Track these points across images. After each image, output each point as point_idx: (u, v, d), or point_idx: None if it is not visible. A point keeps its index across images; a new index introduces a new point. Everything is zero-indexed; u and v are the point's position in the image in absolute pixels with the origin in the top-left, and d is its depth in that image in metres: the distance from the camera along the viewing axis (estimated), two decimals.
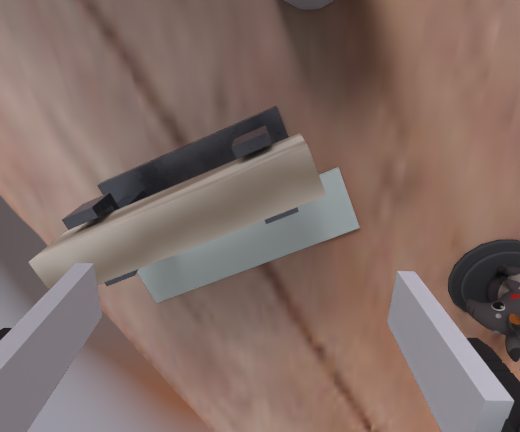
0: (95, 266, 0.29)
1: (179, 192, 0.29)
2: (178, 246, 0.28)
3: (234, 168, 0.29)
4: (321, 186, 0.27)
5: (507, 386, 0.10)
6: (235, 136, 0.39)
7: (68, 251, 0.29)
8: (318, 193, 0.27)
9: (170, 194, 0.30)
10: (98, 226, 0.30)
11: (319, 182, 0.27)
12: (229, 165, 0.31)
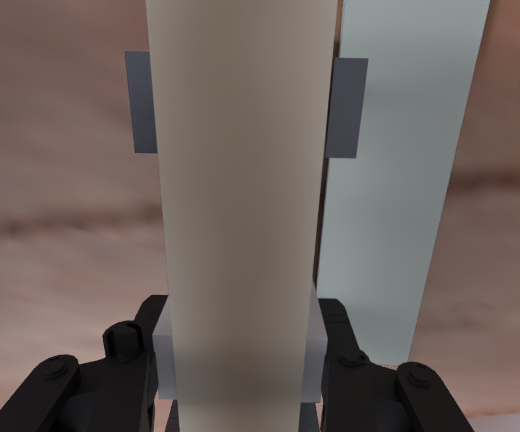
0: None
1: None
2: (285, 385, 0.11)
3: None
4: None
5: (340, 332, 0.12)
6: None
7: None
8: None
9: None
10: None
11: None
12: None
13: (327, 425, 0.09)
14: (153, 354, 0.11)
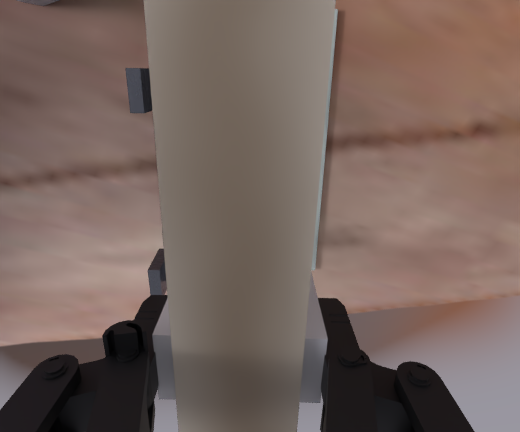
0: None
1: None
2: (283, 385, 0.11)
3: None
4: None
5: (340, 332, 0.12)
6: None
7: None
8: None
9: None
10: None
11: None
12: None
13: (327, 425, 0.09)
14: (153, 354, 0.11)
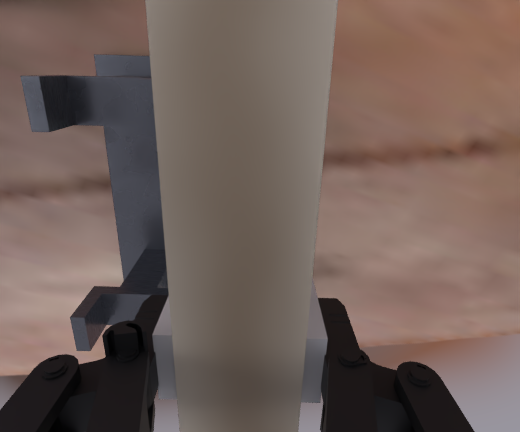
0: None
1: None
2: (285, 386, 0.11)
3: None
4: None
5: (340, 332, 0.12)
6: None
7: None
8: None
9: None
10: None
11: None
12: None
13: (327, 425, 0.09)
14: (153, 354, 0.11)
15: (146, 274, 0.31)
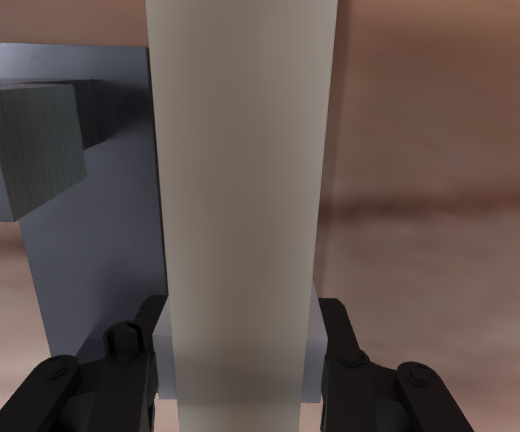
0: None
1: None
2: (285, 385, 0.11)
3: None
4: None
5: (340, 332, 0.12)
6: None
7: None
8: None
9: None
10: None
11: None
12: None
13: (327, 425, 0.09)
14: (153, 354, 0.11)
15: None
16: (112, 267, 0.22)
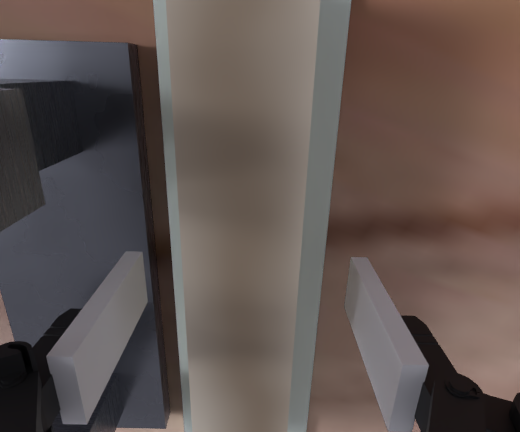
0: None
1: None
2: (279, 339, 0.13)
3: None
4: None
5: (431, 355, 0.12)
6: None
7: None
8: None
9: None
10: None
11: None
12: None
13: None
14: (49, 377, 0.10)
15: None
16: None
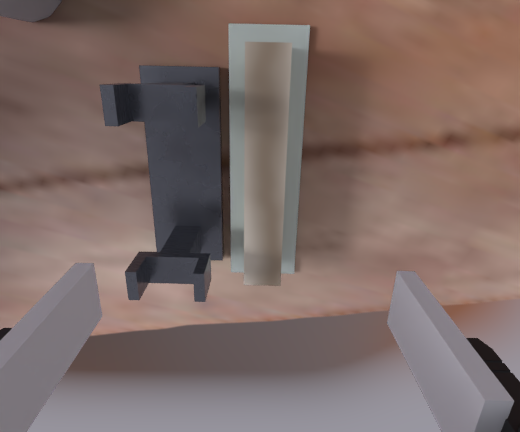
0: (267, 246, 0.38)
1: None
2: (279, 181, 0.35)
3: None
4: (282, 43, 0.31)
5: (506, 386, 0.11)
6: None
7: (248, 256, 0.38)
8: (287, 49, 0.31)
9: None
10: None
11: (278, 44, 0.31)
12: None
13: None
14: None
15: (179, 243, 0.38)
16: (193, 181, 0.41)
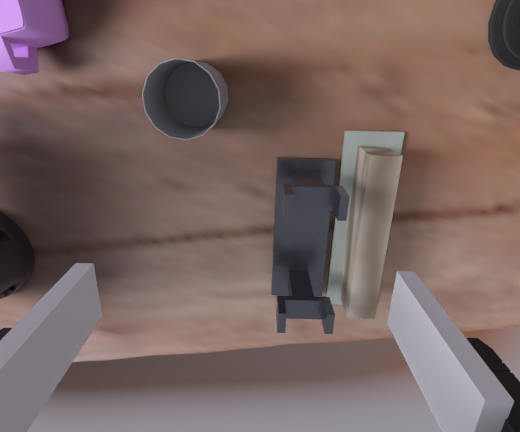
0: (368, 290, 0.51)
1: (354, 228, 0.50)
2: (383, 245, 0.48)
3: (358, 194, 0.49)
4: (396, 157, 0.44)
5: (507, 386, 0.11)
6: None
7: (353, 297, 0.51)
8: (399, 160, 0.44)
9: (352, 233, 0.51)
10: (348, 277, 0.53)
11: (393, 157, 0.44)
12: (354, 194, 0.51)
13: None
14: None
15: (302, 287, 0.52)
16: (307, 239, 0.54)
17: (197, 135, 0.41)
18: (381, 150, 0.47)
